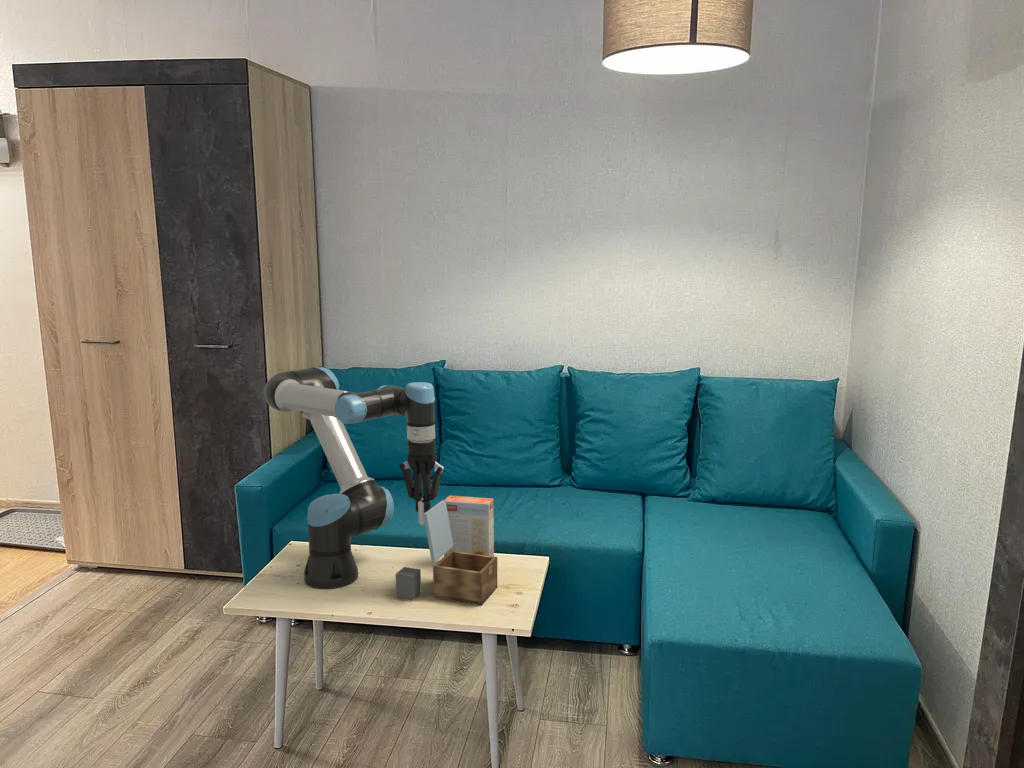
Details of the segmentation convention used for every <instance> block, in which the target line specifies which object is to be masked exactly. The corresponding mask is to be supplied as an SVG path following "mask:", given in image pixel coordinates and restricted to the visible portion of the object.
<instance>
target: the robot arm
mask: <svg viewBox="0 0 1024 768" xmlns="http://www.w3.org/2000/svg"><path fill="white" fill-rule="evenodd" d="M263 390H264V391H263V394H264V400H265V402H266V403H267V405H269V407H270V408H272V409H273V410H276V411H278V412H279V411H280V412H286V413H291V412H295V411H299V412H300V413H301V416H302V417H303V418H304V419H307V420H309V421H310V424H311V426H312V428H313V431H314V432H315V434H316V437H317V438H318V441H319V443H320V445H321V448H322V449H323V450H322V451H323V452H324V454H325V458H327V461H328V464H329V465H330V467H331V470H332V473H333V474H334V477H335V479H336V481H337V484H338V485H339V487H340V490H339V493H332V494H324V495H322V496H319V497H317V498H315V499H314V500H313V501H311V502H310V503H309V504H308V508H307V517H306V521H307V532H308V533H307V535H308V551H309V552H308V557H307V560H306V564H305V566H304V567H305V568H304V571H303V582H304V583H305V584H306V585H307V586H309V587H310V588H315V589H324V590H326V589H328V590H329V589H337V588H341V587H345V586H347V585H350V584H352V583H354V582H355V581H357V579H358V578H359V568H358V565H357V563H356V560H355V557H354V555H353V552H352V538H354V537H357V536H359V535H362V534H365V533H368V532H371V531H375V530H378V529H380V528H382V527H384V526H386V525H388V524H389V523H390V521H391V520H392V518H393V516H394V510H395V509H394V508H395V506H394V499H393V496H392V494H391V492H390V490H388V489H387V488H385V487H384V486H378V484H377V481H376V480H375V478H373V477H369V476H368V475H367V472H366V470H365V468H364V466H363V464H362V462H361V460H360V457H359V455H358V453H357V451H356V448H355V446H354V445H353V442H352V440H351V438H350V435H349V433H348V431H347V428H346V426H345V425H350V424H359V423H361V422H365V421H371V420H374V419H375V420H376V419H380V418H383V417H388V416H393V415H394V416H395V415H397V416H404V417H406V435H407V436H406V438H407V446H406V447H407V457H406V460H405V461H403V462H402V463H400V464H399V465H398V467H399V468H400V470H401V472H402V474H403V479H404V483H405V487H406V491H407V495H408V498H409V499H413V500H414V501H415V503H414V504H415V511H416V512H417V513H418V525H421V526H425V522H424V516H423V514H424V513H426V512H427V511H428V510H430V509H431V501H433V500H435V499H436V498H437V497H438V494H439V489H440V484H441V483H440V482H441V480H442V479H441V477H442V474H443V472H444V471H445V469H446V467H445V465H443V464H442V465H441V464H440V463H439V462H438V460H437V457H436V440H435V439H436V420H435V401H436V397H435V390H434V385H433V384H432V383H430V382H424V381H422V382H421V381H417V382H415V381H413V382H409V383H407V384H406V386H405V387H400V386H395V385H381V386H379V387H378V388H376V389H374V390H370V391H364V392H354V391H348V390H342V389H340V382H339V380H338V378H337V377H336V375H335V374H334V373H333V371H332V370H330V369H329V368H328V367H327V368H326V367H323V366H321V367H320V366H319V367H318V366H317V367H315V366H312V367H308V368H302V369H295V370H288V371H281V372H278V373H276V374H275V375H272V376H271V377H270V378H269V379H268V380H267V381H266V384H265V385H264V389H263ZM344 424H345V425H344ZM411 470H412V471H411ZM432 470H433V471H434V474H433V477H432V478H433V479H432V481H431V475H432Z"/></svg>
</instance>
